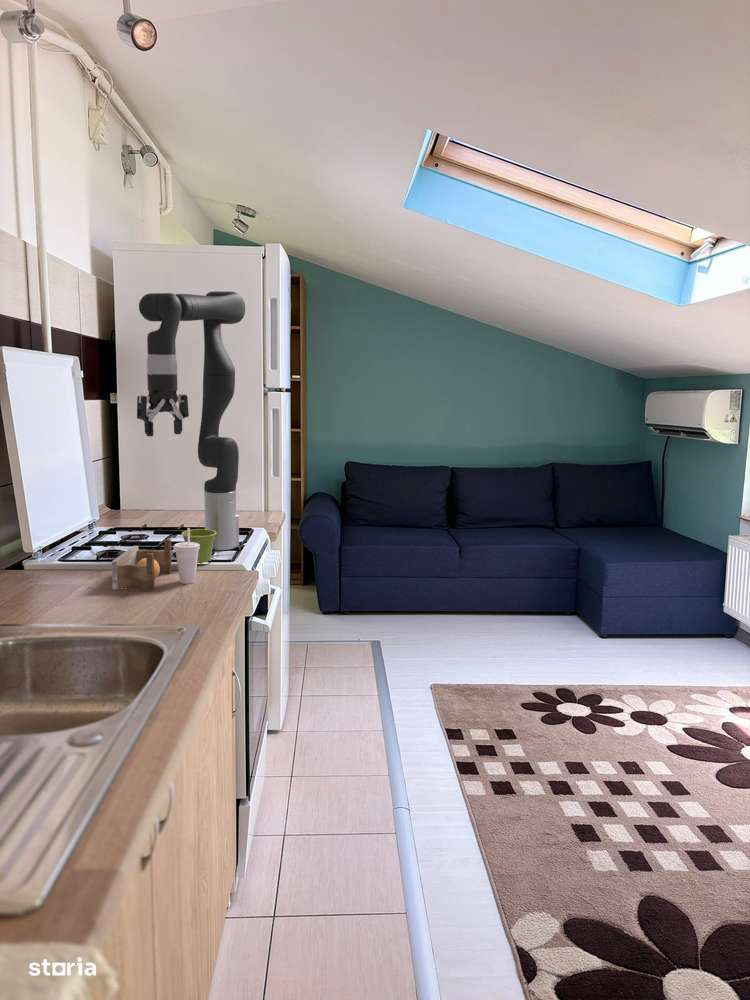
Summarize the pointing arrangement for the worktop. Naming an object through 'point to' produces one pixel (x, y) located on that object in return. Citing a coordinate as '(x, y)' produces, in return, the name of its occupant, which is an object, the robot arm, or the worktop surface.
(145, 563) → the ball
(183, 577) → the smoothie
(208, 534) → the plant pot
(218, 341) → the robot arm
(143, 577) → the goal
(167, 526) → the worktop surface
